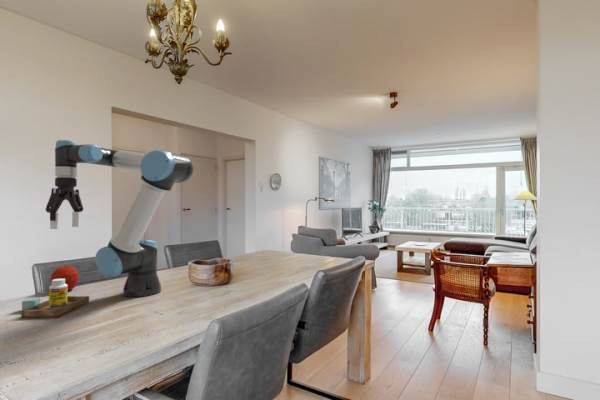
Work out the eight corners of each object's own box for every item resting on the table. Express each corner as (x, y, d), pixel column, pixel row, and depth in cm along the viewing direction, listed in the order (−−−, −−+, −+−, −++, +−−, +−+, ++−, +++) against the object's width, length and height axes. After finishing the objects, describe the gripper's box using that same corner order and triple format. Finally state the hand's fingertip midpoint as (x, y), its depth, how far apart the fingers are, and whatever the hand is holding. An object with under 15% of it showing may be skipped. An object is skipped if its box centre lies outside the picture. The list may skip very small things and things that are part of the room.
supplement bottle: (48, 310, 120) (48, 282, 120) (49, 306, 124) (49, 279, 124) (67, 308, 123) (67, 280, 123) (67, 304, 127) (67, 277, 127)
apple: (48, 294, 144) (48, 267, 144) (53, 289, 153) (53, 264, 153) (76, 292, 148) (77, 265, 148) (79, 287, 157) (79, 262, 157)
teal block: (40, 308, 126) (40, 297, 126) (35, 311, 122) (35, 300, 122) (27, 309, 125) (27, 298, 125) (21, 312, 121) (21, 301, 121)
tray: (89, 302, 133) (89, 296, 133) (57, 317, 115) (57, 310, 115) (57, 302, 132) (58, 296, 132) (21, 318, 114) (21, 310, 114)
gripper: (75, 179, 155) (75, 225, 154) (34, 174, 130) (34, 230, 129) (92, 179, 155) (92, 225, 155) (54, 175, 130) (53, 230, 130)
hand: (65, 227), depth 142 cm, fingers open, 13 cm apart
